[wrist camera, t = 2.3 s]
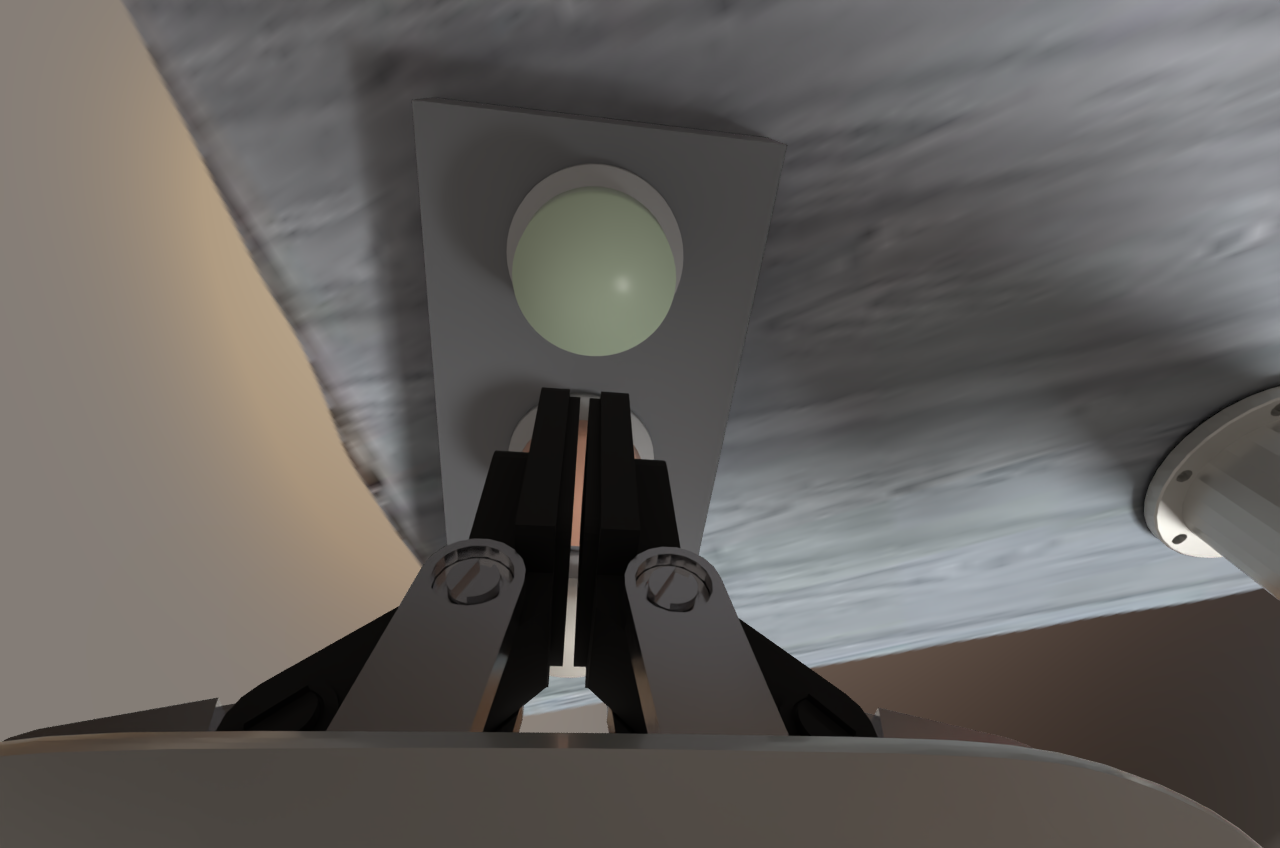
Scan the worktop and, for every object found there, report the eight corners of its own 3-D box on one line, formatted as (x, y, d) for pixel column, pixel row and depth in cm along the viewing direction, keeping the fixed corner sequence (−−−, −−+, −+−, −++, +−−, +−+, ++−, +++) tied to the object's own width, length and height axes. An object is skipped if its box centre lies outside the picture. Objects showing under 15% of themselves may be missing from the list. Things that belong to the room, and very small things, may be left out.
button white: (628, 580, 32) (629, 606, 30) (618, 652, 35) (619, 679, 33) (517, 576, 31) (512, 602, 30) (517, 649, 34) (513, 676, 33)
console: (768, 137, 25) (790, 146, 22) (672, 617, 40) (677, 661, 37) (432, 97, 23) (407, 100, 20) (465, 610, 39) (453, 655, 36)
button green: (681, 195, 22) (687, 204, 20) (661, 344, 25) (664, 362, 23) (518, 177, 21) (511, 185, 19) (518, 332, 24) (512, 349, 23)
